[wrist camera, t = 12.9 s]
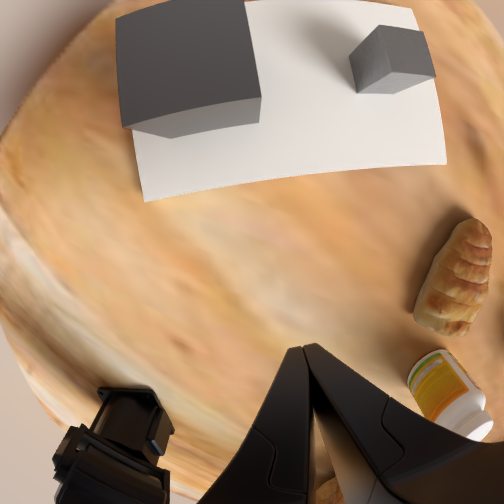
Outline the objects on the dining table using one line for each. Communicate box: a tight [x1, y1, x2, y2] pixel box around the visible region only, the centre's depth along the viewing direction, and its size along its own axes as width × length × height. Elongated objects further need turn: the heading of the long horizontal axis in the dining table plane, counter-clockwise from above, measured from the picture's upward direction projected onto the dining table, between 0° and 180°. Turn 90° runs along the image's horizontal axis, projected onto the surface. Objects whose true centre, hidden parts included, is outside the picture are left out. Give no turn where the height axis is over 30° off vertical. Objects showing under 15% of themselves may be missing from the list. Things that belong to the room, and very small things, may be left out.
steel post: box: [349, 25, 436, 94], centre depth 12 cm, size 3×3×5 cm
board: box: [132, 0, 447, 202], centre depth 15 cm, size 20×12×1 cm, turn 99°
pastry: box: [413, 218, 492, 338], centre depth 18 cm, size 9×7×4 cm
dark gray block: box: [116, 0, 262, 139], centre depth 11 cm, size 5×5×7 cm
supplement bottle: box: [407, 349, 493, 442], centre depth 18 cm, size 5×5×10 cm
